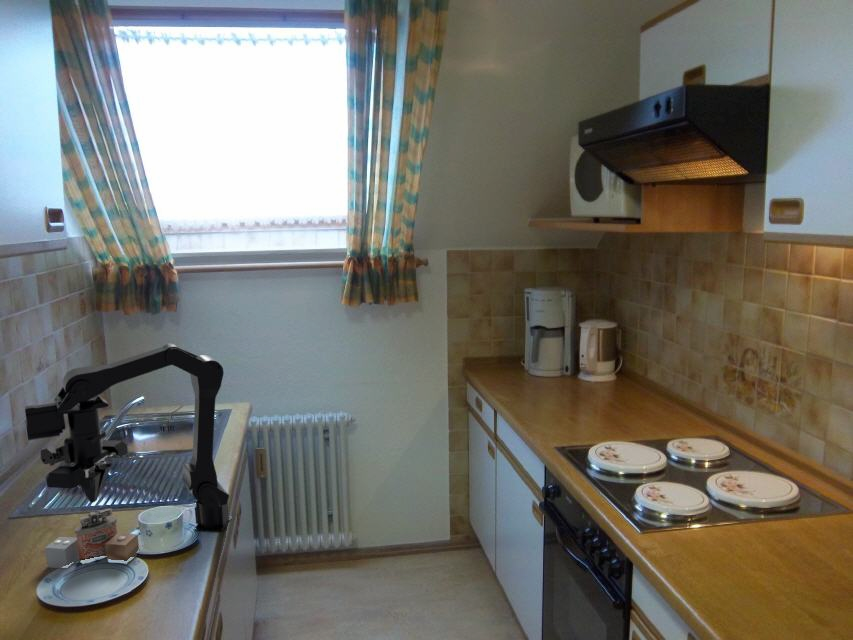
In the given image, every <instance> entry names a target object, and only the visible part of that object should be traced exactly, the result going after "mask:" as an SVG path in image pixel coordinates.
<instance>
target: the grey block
mask: <svg viewBox="0 0 853 640" xmlns="http://www.w3.org/2000/svg"><path fill="white" fill-rule="evenodd" d="M44 551H45V559H46V565H47V568H53V569H61V568H60V567H63V566H66V565H69V564H70V563H72V562H75V561H76V562H78V561H79V559H78V558H79V551H78V543H77V537H73V536H72V537H70V536H59V537H57V538H55V540H53V541H51V543H49V544H48V545H47V546H45V547H44ZM76 562H75V563H76Z"/></svg>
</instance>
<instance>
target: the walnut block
mask: <svg viewBox="0 0 853 640" xmlns="http://www.w3.org/2000/svg"><path fill="white" fill-rule="evenodd" d="M105 547H106V555H107V558H106V560H107V559H111V560H124V561H127V560H128V559H129V558H130V557H135V558H137V556H138V555H137V554H136V552H137V551H138V549H139V550H140V545H139V536H138V534H137V533H124V532H117V534H116V535H115V536H114V537H113V538H111V539H110V540H109V541H108V542H107V543H105Z"/></svg>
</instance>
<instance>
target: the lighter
mask: <svg viewBox="0 0 853 640" xmlns="http://www.w3.org/2000/svg"><path fill="white" fill-rule="evenodd" d="M112 515H113V509H112V508H106V509H102V510H99V511H98V512H95V511H90V512H89V513H88V515H84V516H81V517H80V518H79V519H80V520H79V521H80V522H79V523H80V524H81V525H78V526H77V527H75V528H74V534H76V538H77V543H78V551H79V558H78V559H79V560H78V562H79V561H81V560H85V559H90V558H94V557H100V556H107V555H106V547H105V543H107V542H108V541H109V540H110V539H111V538H113V537H114V536H115V535H116V534H117V533H118V529H117V522H118V521H117V520H118V519H117V517H116V516H112Z"/></svg>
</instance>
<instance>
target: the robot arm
mask: <svg viewBox="0 0 853 640" xmlns="http://www.w3.org/2000/svg"><path fill="white" fill-rule="evenodd" d="M169 366H173V367H176V368H178V369H180V370H182V371H185V372H186V373H188V374H189V375H190V382H191V386H192V389H193V393H194V414H193V416H194V417H193V439H192V440H193V441H192V442H193V443H192V456H191V459H190V462H189V463H183V464H182V468H183V476H182V479H181V481H182V482H183V484H185V487H186V488H187V489H188V491H189V492H190V494H191V495H192V497H193V498H194V499H195V500H196V501H195V507H194V514H195V524H196V526H195V527H194V528H196V529H199V530H198V531H200V532H201V531H203V532H218V533H220V532H222V531H223V530H224V529H225V528H226V527H227V526H228V524H229V523H230V522H231V521H232V520H233V516H231V515H229V503H228V502H229V498H230V494H229V493H228V492H227V491H226V490H225V489H224V487H223V486H222V484H220V482H219V481H218V476H217V471H216V467H215V463H214V435H215V413H216V400H217V399H216V398H217V396H218V394H219V392H220V390H221V386H222V383H223V382H222V381H223V377H224V374H225V373H224V368H223V366H222V364H220V362H218V361H217V360H216V359H214V358H213V357H211V356H209V355H207V354H206V355H205V354H200V355H197V354H194V353H192V352H190V351H187V350H185V349H183V348H180V347H179V346H177V345H176V344H174V343H165V344H164V345H163V346H161V347H157V348H155V349H151V350H148V351H146V352H142V353H139V354H136V355H133V356H131V357H127V358H125V359H121V360H118V361H115V362H112V363H109V364H103V365H102V364H101V365H87V366H83V367H82V366H81V367H76V368H72V369H71V370H68V371H67V372H66V373H65V374H64V377H63V379H62V387H61V389H60V390H59V392H58V393H57V394H56V395H55V397H54V399H53V402H50V403H45V404H38V405H34V404H33V405H31V404H30V405H26V406H24V414H25V415H24V416H25V419H24V424H25V425H24V426H25V429H26V430H25V431H26V437H27V442H32V441H37V440H43V439H44V440H45V439H49V438H53V437H59V436H60V435H61V434H63V431H64V430H66V421H65V420H66V419H65V415H66V417H67V423H68V424H67V425H68V432H69V434H68V435H69V436H68V437H66V438H65V439H64V441H63V442H62V443H59V444H57V445H55V446H53V445H52V444H51V445H50V446H48V447H47V446H46V447H43V448H42V449H40V460H41V462H42V464H44V465H48V464H49V466H50V467H52V466H55V465H56V464H59V463H61V462H64V464H68V465H67V466H66V465H65V466H64V465H60V466H58V467H57V468H55V469H53V470H51V471H50V472H48V473H47V474H46V475H45V485H46V488H52V489H53V488H55V489H56V488H57V489H75V488H76V487H78V486H80V487H81V489H82V491H83V492H84V493H83V494H85V496H86V498H87V500H88V501H89V502H90V503H95V502H97V500H98V498H99V495H100V493H101V490H102V488H103V485H104V483H105V481H106V478H107V475H109V472H110V470H111V468H112V467H113V464H112V463H107V461H106V460H105V459H106V458H108V457H109V456H111V455H113V454H115V456H116V457H117V458H122V457H123V456H125V455H127V454H128V445H127V443H126V442H125V441H123V440H110V439H104V438H105V437H106V436H107V434H106V431H104V430H103V431H101V422H100V415H99V414H100V413H99V409H104V408H108V407H109V403H108V402H107V400H106V399H104V398H103V397H101V396H100V395H101V394H103V393H105V392H106V391H107V390H109V389H110V388H111V387H114V386H115V385H117V384H119V383H122V382H125V381H128V380H132V379H134V378H137V377H140V376H143V375H145V374H149V373H152V372H154V371H157V370H160V369H164V368H166V367H169ZM103 439H104V440H103ZM69 464H73V465H72V466H69Z"/></svg>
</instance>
